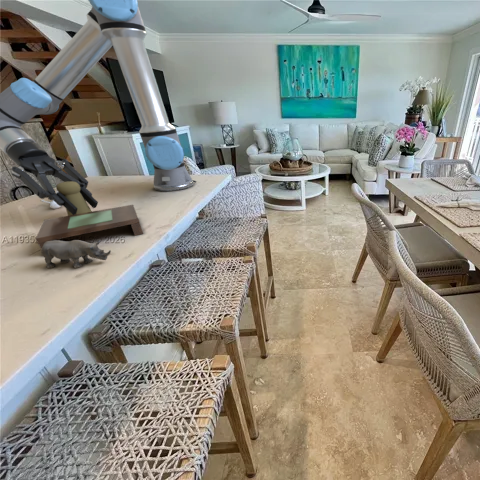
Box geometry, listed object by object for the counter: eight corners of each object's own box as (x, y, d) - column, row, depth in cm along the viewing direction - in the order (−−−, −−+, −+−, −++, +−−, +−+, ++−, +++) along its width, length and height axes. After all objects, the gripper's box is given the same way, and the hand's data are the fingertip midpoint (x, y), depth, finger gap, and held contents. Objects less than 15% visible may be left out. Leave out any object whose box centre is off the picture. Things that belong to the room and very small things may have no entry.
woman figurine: (84, 182, 104) (72, 197, 90) (89, 193, 106) (77, 209, 93) (46, 185, 99) (26, 202, 86) (51, 196, 102) (33, 215, 88)
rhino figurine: (108, 268, 57) (97, 243, 55) (42, 270, 57) (28, 245, 54) (120, 258, 61) (110, 235, 58) (58, 260, 60) (46, 236, 58)
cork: (92, 212, 86) (78, 178, 81) (95, 217, 82) (80, 182, 77) (68, 217, 82) (51, 182, 77) (70, 222, 78) (52, 186, 73)
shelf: (137, 218, 83) (132, 203, 81) (143, 233, 73) (137, 217, 71) (52, 235, 72) (43, 219, 70) (45, 256, 62) (35, 237, 60)
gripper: (56, 153, 86) (112, 206, 89) (-22, 164, 71) (48, 227, 74) (60, 136, 82) (118, 192, 85) (-22, 144, 67) (52, 211, 70)
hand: (85, 208), depth 80 cm, fingers closed on cork, 5 cm apart
